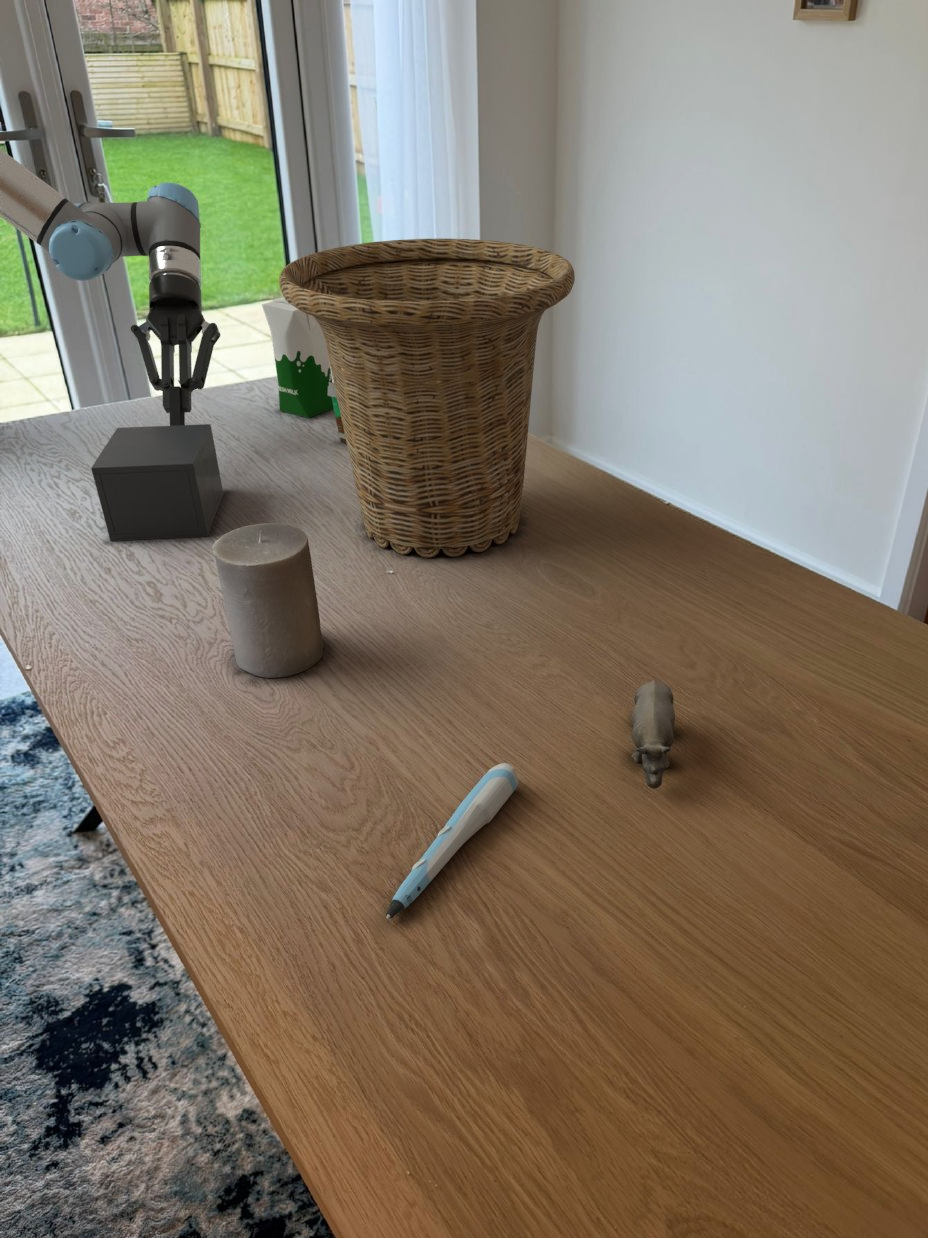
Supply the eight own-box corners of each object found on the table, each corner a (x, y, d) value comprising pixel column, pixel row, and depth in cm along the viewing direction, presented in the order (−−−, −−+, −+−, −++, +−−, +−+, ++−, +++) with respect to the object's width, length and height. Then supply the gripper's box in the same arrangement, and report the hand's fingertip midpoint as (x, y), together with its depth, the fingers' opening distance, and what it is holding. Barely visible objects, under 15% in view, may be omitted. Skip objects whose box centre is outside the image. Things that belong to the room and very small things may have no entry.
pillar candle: (323, 629, 118) (307, 507, 109) (324, 674, 110) (306, 547, 101) (237, 636, 116) (213, 514, 108) (231, 683, 108) (205, 555, 100)
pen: (491, 780, 95) (490, 756, 93) (521, 790, 94) (521, 766, 92) (373, 919, 81) (369, 893, 79) (407, 933, 80) (404, 907, 78)
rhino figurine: (626, 806, 92) (630, 753, 88) (630, 717, 103) (633, 667, 100) (673, 809, 91) (678, 756, 88) (671, 720, 103) (676, 669, 99)
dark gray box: (133, 496, 149) (117, 427, 143) (223, 492, 150) (210, 423, 144) (110, 541, 137) (90, 467, 131) (207, 536, 138) (192, 463, 132)
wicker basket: (485, 457, 160) (478, 227, 141) (621, 539, 136) (635, 275, 117) (274, 509, 145) (234, 258, 126) (385, 611, 121) (357, 320, 102)
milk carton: (344, 406, 180) (331, 287, 169) (307, 421, 174) (291, 298, 163) (308, 397, 185) (293, 280, 173) (271, 411, 178) (253, 290, 167)
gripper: (123, 272, 151) (124, 421, 147) (213, 270, 152) (216, 418, 148) (138, 301, 158) (140, 444, 154) (224, 298, 159) (227, 440, 155)
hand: (177, 431), depth 151 cm, fingers closed
